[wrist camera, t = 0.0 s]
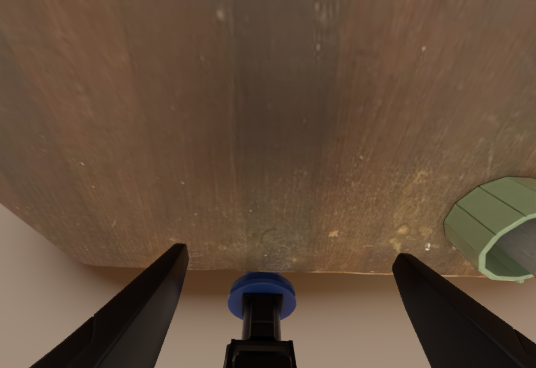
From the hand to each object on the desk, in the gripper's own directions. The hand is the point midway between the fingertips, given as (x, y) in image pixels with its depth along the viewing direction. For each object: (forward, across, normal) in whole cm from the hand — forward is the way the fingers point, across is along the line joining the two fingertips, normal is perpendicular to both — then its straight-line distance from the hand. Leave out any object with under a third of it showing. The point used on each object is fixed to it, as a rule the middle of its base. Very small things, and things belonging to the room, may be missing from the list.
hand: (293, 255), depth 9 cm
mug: (+15, -29, +10) cm, 34 cm away
